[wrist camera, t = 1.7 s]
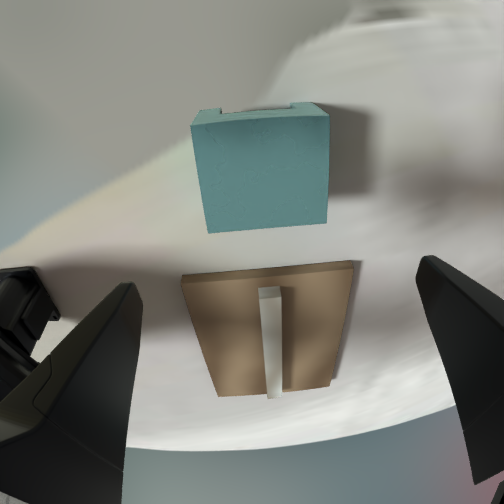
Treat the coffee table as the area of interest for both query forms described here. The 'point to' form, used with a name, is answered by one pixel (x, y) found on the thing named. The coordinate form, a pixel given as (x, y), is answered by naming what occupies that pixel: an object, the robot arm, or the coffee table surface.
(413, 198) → the coffee table surface
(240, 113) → the block
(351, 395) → the coffee table surface
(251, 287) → the rail plate
